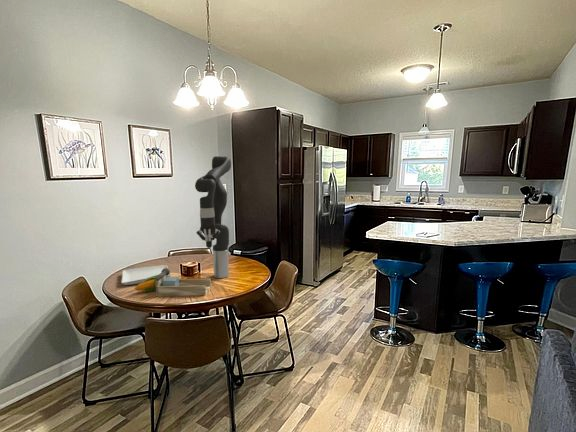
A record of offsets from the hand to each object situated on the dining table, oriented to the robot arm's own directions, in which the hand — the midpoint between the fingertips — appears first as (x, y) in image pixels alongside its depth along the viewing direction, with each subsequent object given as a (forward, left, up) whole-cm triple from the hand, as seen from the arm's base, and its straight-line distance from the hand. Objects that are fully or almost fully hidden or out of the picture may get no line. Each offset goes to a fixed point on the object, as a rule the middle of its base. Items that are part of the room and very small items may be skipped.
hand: (209, 247), depth 167 cm
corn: (-3, -33, -25) cm, 41 cm away
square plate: (-25, -47, -25) cm, 59 cm away
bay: (+1, -14, -24) cm, 28 cm away
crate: (+1, -22, -23) cm, 31 cm away
